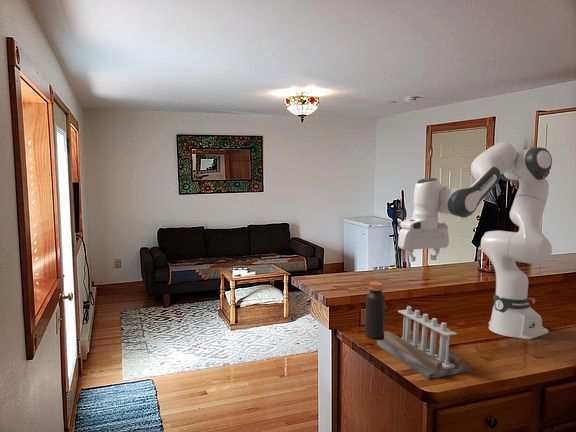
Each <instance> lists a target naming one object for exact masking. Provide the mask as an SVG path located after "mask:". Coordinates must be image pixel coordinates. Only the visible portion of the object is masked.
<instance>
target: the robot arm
mask: <svg viewBox="0 0 576 432" xmlns="http://www.w3.org/2000/svg"><path fill="white" fill-rule="evenodd" d="M552 165H553V158H552V154H551V153H550V152H549V150H548V149H546V148H545V147H540V146H539V147H538V146H537V147H531V148H528V149H523V150H520V151H519V150H518V151H517V149H516V148H515V147H514V145H513V144H511V143H509V142H507V141H501V142H499V143H496V144H494V145H492V146H490V147H489V148H486V149H485V150H483V152H481V153H480V154H479V155H477V157H475V158H474V160H473V161H472V162H471V165H470V171H471V175H472V177H473V179H474V180H475V181H474V182H473V183H472V184H471V186H469V187H465V188H462V187H461V188H456V187H455V188H453V187H448V186H445V185H444V184H442V183H441V182H440V181H439V180H438V179H437V178H435V177H428V178H421V179H419V180H417V182H416V183H415V186H414V191H413V199H412V200H413V211H412V217H410V218H407V219H405V220H403V221H401V222H400V223H399V226H400V230H399V232H398V237H397V238H398V239H397V246H398V248H399V249H401V250H405V251H406V252H407V255H408V259H409V260H408V261H409V262H411V263H412V262H416V256H415V255H414V254H413V253H414V251H415V250H424V249H425V250H427V249H432V250H433V252H432V254H430V256H429V257H430V260H431V261H437V257H438V255H439V253H440V251H441V249H445V248H446V249H447V248H448V247H449V245H450V241H449V240H450V239H449V238H450V237H449V226H448V225H447V223H446V222H439V213H440V214H445V215H451V216H456V217H459V218H468V217H470V216H472V215H474V213H475V212H476V210H477V208H478V207H479V205H480V204H481V202H482V201H483V200H484V199H485V198H486V197H487V195H488V194H489V193H490V192H492V190H493V189H494V188H495V187H496V186H497V184H498V183H499V182H500V180H503V181H505V182H515V181H518V189H517V192H516V193H515V197H514V199H513V202H512V205H511V208H510V211H509V218H510V221H511V222H512V223H513V224H514V225H516V226H517V227H519V228H518V231H517V232H515V231H505V230H489V231H486V232H485V233H484V234H483V235H482V237H481V240H480V247H481V250H482V252H483V254H485V255H486V257H487V258H488V259H489V260H490V262H491V263H492V266H493V267H494V272H495V292H494V295H493V306H492V311H491V316H490V320H489V321H488V329H489V331H491V332H492V333H495V334H497V335H499V336H505V337H508V338H509V337H510V338H518V339H524V340H532V339H535V338H537V337H541V336H543V335H546V334H549V333H550V331H549V329H548V328H545V327H544V326H543V319H542V317H541V315H540V314H539V313H538V312H537V311H536V310H534V309H533V308H532V307H531V304H532V305H533V304H535V303H536V299H535V298H534V297H528V289H529V278H528V276H527V274H525V272H523V271H522V270H521V269H520V268H518V266H517V264H516V262H519V263H525V264H529V265H530V264H531V265H537V264H540V265H541V264H545V263H546V262H548V261H549V260H550V259H551V256H552V253H553V246H552V243H551V242H550V240H549V239H548V238H547V237H546V236H545V234H544V233H543V231H542V227H541V226H542V223H541V222H542V219H543V214H544V210H545V207H546V204H547V201H548V197H549V187H550V184H549V181H548V180H547V177H548V176H549V174H550V171H551V169H552Z"/></svg>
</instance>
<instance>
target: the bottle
mask: <svg viewBox="0 0 576 432" xmlns="http://www.w3.org/2000/svg"><path fill="white" fill-rule="evenodd" d="M368 288H369V293H368V294H366V298H365V299H366V301H365V320H364V321H365V324H364V328H365V329H364V335H365V336H366V337H367V338H370V339H373V340H375V339H382V338H384V332H385V331H384V330H385V329H384V328H385V306H386V297H385V295H384V294H383V291H384V283H383V282H379V281H371V282H369V286H368Z"/></svg>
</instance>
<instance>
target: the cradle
mask: <svg viewBox="0 0 576 432" xmlns="http://www.w3.org/2000/svg"><path fill="white" fill-rule="evenodd" d="M405 330H406V328H405ZM413 331H414V330H412V329H411V332H410V339H411V340H412V341H413ZM421 340H422V334H419V336H418V344H419V345H421ZM376 346H378V347H380V348H381V349H382V350H384V351H385V352H387V353H389V354H390V355H392V356H393V357H394V358H395V359H398V360H399V361H401V362H402V363H404V365H406V366H407V367H409V368H411V369H412V370H414V371H416V372H417V373H418V374H420V375H422V376H423V377H424V378H426V379H427V380H430V379H436V378H440V377H446V376H451V375H457V374H463V373H468V372H470V371H471V366H470V365H468V364H467V363H465V362H464V358H463V357H461V356H459V355H457V354H455V353H454V352H452V351H450V350H449V353H448V361H449V362H450V363H452V364H454V365H455V368H451V369H445V370H443V369H442V362H441V361H439V360H438V359H436V358H434V357H433V356H431V355H429V354H428V353H426V352H424V351H422V350H421V349H419V348H417V347H416V346H414V345H412V344H411V343H409V342H407V341H405V340H404V339H402V336H398V335H396V334H395V333H393V332H392V331H390V330H387V331H386V330H385V331H384V333H383V339H379V340H376ZM439 348H440V344H437V343H436V351H435V354H436V355H438V356H439ZM426 349H428V350H430V339H428V338H427V347H426ZM445 357H446V348H445Z"/></svg>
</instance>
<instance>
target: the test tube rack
mask: <svg viewBox="0 0 576 432" xmlns="http://www.w3.org/2000/svg"><path fill="white" fill-rule="evenodd" d="M412 309H413V308H412V306H410V305H407V306H406V309H400V310H399V309H398V310H397V312H398V313H399V314H402V315H403V321H402V323H403V325H402V336H401V337H402V339H404V340H405V341H407V342H409V343H411V344H412V345H414V346H416V347H417V348H419V349H421V350H422V351H424V352H426V353H428V354H429V355H431V356H433V357H434V358H436V359H438V360H439V361H441V362H442V369H443V370H445V369H451V368H455V365H454V364H452V363H450V362H449V361H448V353H449V351H450V350H449V348H450V338H451V336H455V335H458V332H455V331H453V330H452V329H451V330H450V329H449V328H447V327H448V325H447V322H443V321H442V322H441V324H438V319H437V318H435V317H433V318H431V320H430V319H429V314H428V313H423V314H422V315H420V314H421V311H420V310H419V309H415V310H414V311H413V310H412ZM412 320H413V330H412V327H411V326H412ZM420 324H421V336H422V340H421V345H419V344H418V336H419V335H420ZM428 328H429V329H430V338H429V340H430V350H428V349H426V347H427V339H428V331H429V329H428ZM405 329H406V330H405ZM411 330H412V331H413V341H412V340H411V339H410V332H411ZM437 333H439V334H440V335H439V346H440V348H439V356H438V355H436V354H435V351H436V344H437ZM445 349H446V357H445Z"/></svg>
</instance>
